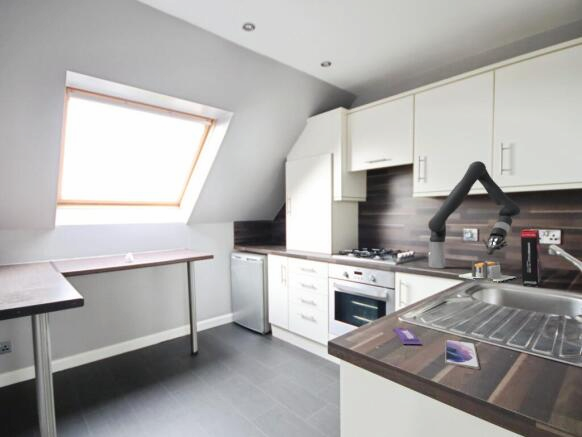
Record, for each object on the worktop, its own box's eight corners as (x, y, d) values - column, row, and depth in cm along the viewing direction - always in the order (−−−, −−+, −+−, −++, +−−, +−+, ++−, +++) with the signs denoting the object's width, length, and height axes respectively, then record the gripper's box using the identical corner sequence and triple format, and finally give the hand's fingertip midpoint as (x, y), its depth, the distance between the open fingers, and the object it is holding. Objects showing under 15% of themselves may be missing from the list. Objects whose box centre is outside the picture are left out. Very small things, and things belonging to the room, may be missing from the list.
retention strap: (489, 263, 176) (474, 266, 168) (489, 261, 176) (474, 263, 168) (496, 264, 173) (482, 267, 165) (496, 262, 173) (482, 264, 165)
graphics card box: (538, 287, 146) (538, 230, 146) (520, 285, 151) (520, 230, 151) (540, 282, 159) (540, 229, 159) (524, 280, 164) (523, 229, 164)
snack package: (422, 340, 83) (403, 340, 83) (422, 347, 83) (403, 347, 83) (408, 325, 95) (392, 325, 95) (409, 331, 95) (392, 331, 95)
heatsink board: (458, 276, 174) (458, 260, 174) (477, 273, 185) (477, 257, 185) (497, 283, 157) (497, 264, 157) (515, 278, 168) (515, 261, 168)
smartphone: (445, 362, 73) (445, 339, 86) (445, 365, 73) (445, 342, 86) (480, 368, 70) (474, 343, 83) (480, 371, 70) (475, 346, 83)
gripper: (485, 226, 183) (474, 248, 177) (510, 227, 172) (499, 250, 166) (490, 235, 186) (479, 256, 180) (515, 236, 175) (504, 259, 168)
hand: (489, 253), depth 173 cm, fingers closed
